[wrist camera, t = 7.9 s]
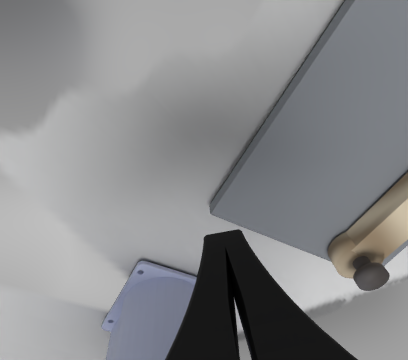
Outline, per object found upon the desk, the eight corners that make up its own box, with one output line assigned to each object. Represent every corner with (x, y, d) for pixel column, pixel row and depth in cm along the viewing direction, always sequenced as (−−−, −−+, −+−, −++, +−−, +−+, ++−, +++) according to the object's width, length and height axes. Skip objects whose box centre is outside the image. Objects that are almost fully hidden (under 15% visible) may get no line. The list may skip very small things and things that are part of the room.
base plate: (365, 268, 27) (371, 277, 26) (209, 205, 22) (210, 214, 21) (534, 113, 20) (550, 118, 19) (363, -28, 15) (375, -30, 14)
